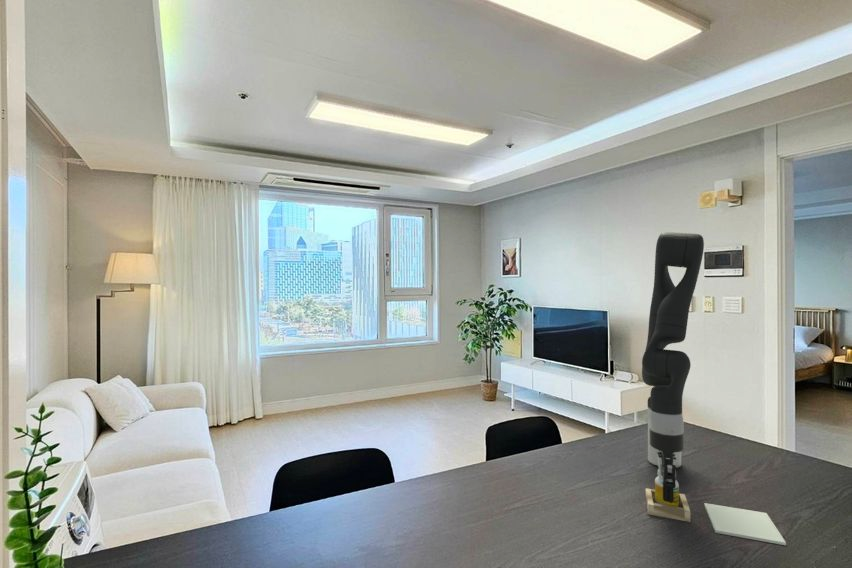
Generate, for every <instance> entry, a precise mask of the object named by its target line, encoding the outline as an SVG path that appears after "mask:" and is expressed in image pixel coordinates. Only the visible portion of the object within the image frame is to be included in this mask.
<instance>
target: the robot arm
mask: <svg viewBox="0 0 852 568" xmlns="http://www.w3.org/2000/svg"><path fill="white" fill-rule="evenodd" d="M704 246H705V242H704V237H703V236H702V234H700V233H691V232H690V233H689V232H671V231H668V232H667V231H663V232H661V233H660V234H659V235H658V238H657V241H656V245H655V253H654V254H655V258H654V259H655V260H654V279H653V280H654V281H653V288H652V289H653V290H652V297H651V302H650V308H649V318H648V331H647V339H646V347H645V351H644V353H643V356H642V359H641V377H642V381H643V382H644V384H645V385H647V386H651V389H650V396H649V397H648V398H647V460H648V461H647V462H649V463H650V464H652V465H654V466H657V467H658V469H660V475H661V476H662V484H663V500H664V501H666V502H673V501H674V500H673V488H675V487H676V485H675V480H676V478H677V469H678V468H680V467H681V466H682V451H683V450H684V449H685V448H684V447H685V443H684V441H685V440H684V439H685V438H684V431H685V429H684V417H683V416H684V415H683V395H684V389H685V385H686V382H687V379H688V376H689V374H690V370H691V366H692V365H691V360H690V358H689V356H688V354H687V353H686V352H684V351H682V350H676V349H675V350H674V349H665V348H667V346H668V345H671V344H679V343H682V342H684V341H685V339H686V335H687V329H688V321H689V313H690V309H691V308H690V307H691V305H692V304H691V303H692V300H693V296H694V292H695V289H696V286H697V282H698V277H699V274H700V269H701V265H702V260H703V257H704V248H705V247H704ZM669 267H674V268H685V272H684V274H683V277H682V278H681V279H680V281H679V282H678V284H677V285H675V283H674V282H673V280H672V277H671V275H670V271H669ZM662 469H663V471H662ZM675 477H676V478H675ZM666 479H671V482H668V481H666Z"/></svg>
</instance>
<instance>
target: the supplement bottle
mask: <svg viewBox="0 0 852 568" xmlns="http://www.w3.org/2000/svg"><path fill="white" fill-rule="evenodd" d="M662 471H663V469H662ZM676 478H677V476H676V477H675V485H676V487H675V488H673V500H674V501H673V502H666V501H664V500H663V484H662V476H661V475H660V469H659V468H658V469H657V476H656V477H655V479H654V490H655V501H654V503H657V504H663V505H669V506H675V507H680V505H679V493H680V483H679V482H678V480H677V479H676ZM666 481H668V482H671V479H666Z"/></svg>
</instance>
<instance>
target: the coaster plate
mask: <svg viewBox="0 0 852 568" xmlns="http://www.w3.org/2000/svg"><path fill="white" fill-rule="evenodd" d="M703 505H704V508H705V511H706V513H707V515H708V518H709V521H710V522H711V526H712V527H713V530H714V532H715V533H716V534H719V535H720V534H722V535H727V536H733V537H737V538H743V539H749V540H752V541H753V540H754V541H760V542H765V543H772V544H775V545H776V544H777V545H780V546H781V545H783V546H786V545H787V542H786V540H785V539H784V537H783V536H782V534H781V533H780V531H779V530H778V528H777V527H776V525H775V523H774V522H773V521H772V519H771V517H770V516H769V514H768V513H767V512H762V511H756V510H751V509H750V510H749V509H743V508H738V507H731V506H725V505H718V504H713V503H706V502H704V503H703Z"/></svg>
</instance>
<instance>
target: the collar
mask: <svg viewBox="0 0 852 568" xmlns="http://www.w3.org/2000/svg"><path fill="white" fill-rule="evenodd" d="M645 502H646V508H647V514H648V515H651V516H655V517H661V518H667V519H672V520H678V521H684V522H689V523H690V522H691V509H690V506H689V504H688V500H687V498H686V494H685V493H680V492H679V507H675V506H669V505H663V504H657V503H655V488H654V489H652V488H648V487H647V488H645Z"/></svg>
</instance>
